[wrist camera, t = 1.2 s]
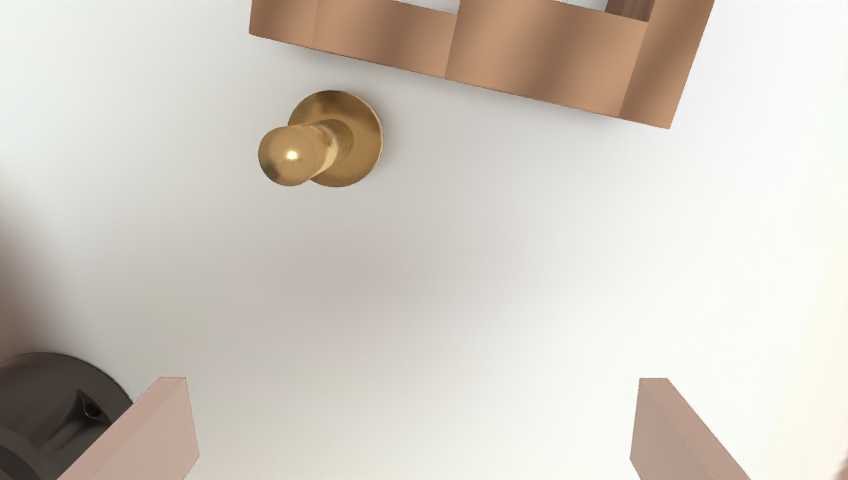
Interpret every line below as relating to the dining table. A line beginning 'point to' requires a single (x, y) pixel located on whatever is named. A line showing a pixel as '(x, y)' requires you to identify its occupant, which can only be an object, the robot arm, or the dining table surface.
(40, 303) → the dining table surface
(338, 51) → the keyhole shelf
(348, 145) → the pin
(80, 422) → the robot arm
